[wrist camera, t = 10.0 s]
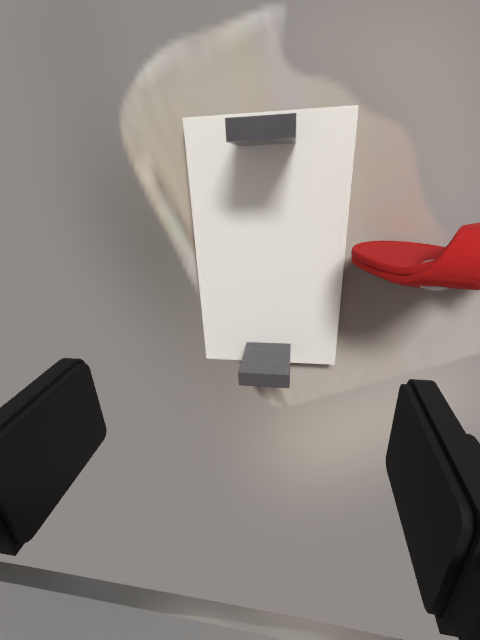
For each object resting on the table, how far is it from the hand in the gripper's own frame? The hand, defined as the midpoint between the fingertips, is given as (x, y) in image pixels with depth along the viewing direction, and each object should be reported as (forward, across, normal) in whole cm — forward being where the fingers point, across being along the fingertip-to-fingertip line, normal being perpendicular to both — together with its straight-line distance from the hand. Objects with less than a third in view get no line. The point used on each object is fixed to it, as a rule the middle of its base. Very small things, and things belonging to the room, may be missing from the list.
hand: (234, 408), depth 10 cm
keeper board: (+20, +1, 0) cm, 20 cm away
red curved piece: (+20, -11, -1) cm, 23 cm away
